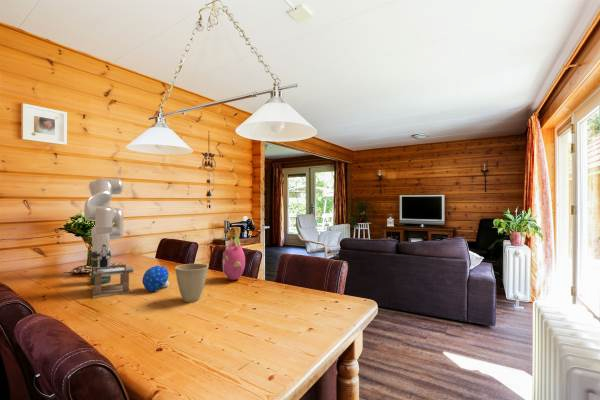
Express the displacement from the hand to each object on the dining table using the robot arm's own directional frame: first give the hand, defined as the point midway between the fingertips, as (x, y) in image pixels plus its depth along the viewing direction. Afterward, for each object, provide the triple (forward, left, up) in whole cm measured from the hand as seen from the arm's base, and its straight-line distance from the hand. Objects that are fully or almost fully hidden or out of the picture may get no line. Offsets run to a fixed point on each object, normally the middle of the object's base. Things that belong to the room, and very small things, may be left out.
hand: (103, 265), depth 159 cm
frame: (0, +3, -14) cm, 14 cm away
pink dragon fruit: (+14, +66, -14) cm, 69 cm away
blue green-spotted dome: (+11, +23, -14) cm, 30 cm away
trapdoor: (0, +5, -4) cm, 7 cm away
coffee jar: (-21, -1, -14) cm, 25 cm away
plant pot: (+38, +34, -14) cm, 53 cm away
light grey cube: (0, 0, -1) cm, 1 cm away
